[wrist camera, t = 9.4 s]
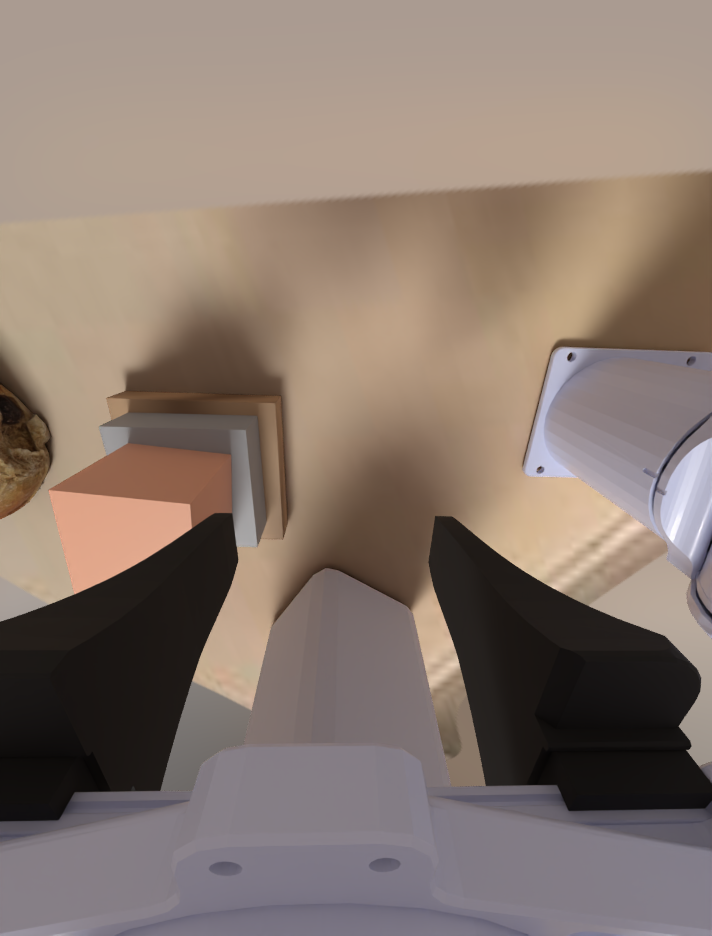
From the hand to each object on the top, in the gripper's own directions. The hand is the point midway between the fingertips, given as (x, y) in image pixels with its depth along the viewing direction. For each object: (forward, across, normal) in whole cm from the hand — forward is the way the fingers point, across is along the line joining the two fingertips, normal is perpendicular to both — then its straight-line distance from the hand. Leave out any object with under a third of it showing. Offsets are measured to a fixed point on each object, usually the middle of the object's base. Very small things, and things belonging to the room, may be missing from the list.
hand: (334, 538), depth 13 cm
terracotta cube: (+6, +8, +2) cm, 10 cm away
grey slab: (+9, +8, +2) cm, 12 cm away
